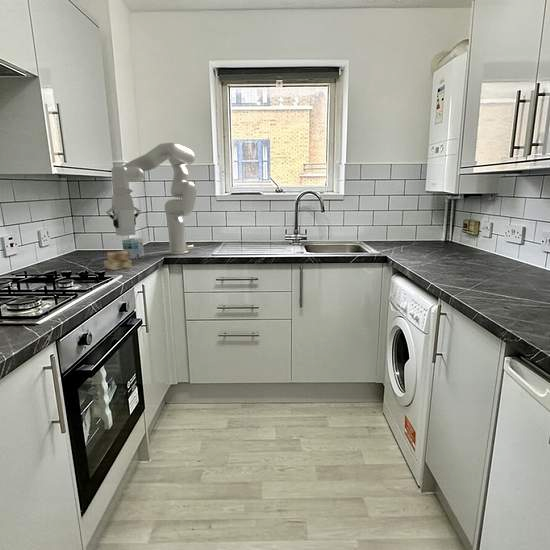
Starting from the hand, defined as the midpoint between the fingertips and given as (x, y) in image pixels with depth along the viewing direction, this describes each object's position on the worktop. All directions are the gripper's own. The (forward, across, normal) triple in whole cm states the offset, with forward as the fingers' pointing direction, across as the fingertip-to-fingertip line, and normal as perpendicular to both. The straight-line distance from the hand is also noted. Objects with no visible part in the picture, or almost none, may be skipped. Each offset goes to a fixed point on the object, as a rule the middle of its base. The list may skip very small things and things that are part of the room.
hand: (125, 226), depth 198 cm
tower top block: (+16, +6, +5) cm, 18 cm away
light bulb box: (+20, -8, -18) cm, 28 cm away
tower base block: (+20, +6, +5) cm, 22 cm away
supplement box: (+4, 0, 0) cm, 4 cm away
